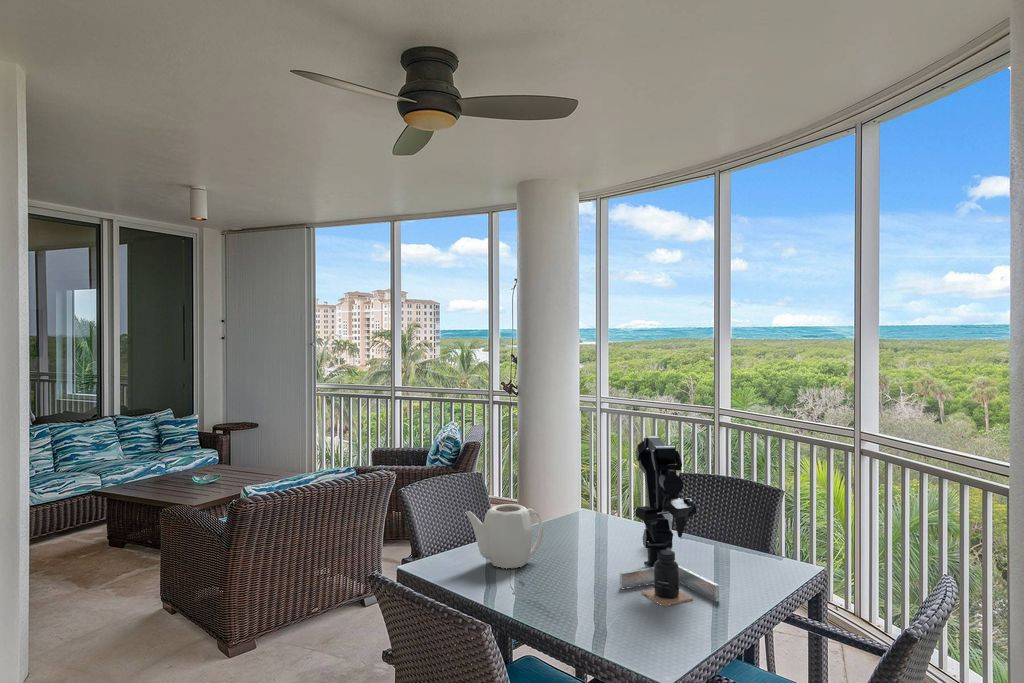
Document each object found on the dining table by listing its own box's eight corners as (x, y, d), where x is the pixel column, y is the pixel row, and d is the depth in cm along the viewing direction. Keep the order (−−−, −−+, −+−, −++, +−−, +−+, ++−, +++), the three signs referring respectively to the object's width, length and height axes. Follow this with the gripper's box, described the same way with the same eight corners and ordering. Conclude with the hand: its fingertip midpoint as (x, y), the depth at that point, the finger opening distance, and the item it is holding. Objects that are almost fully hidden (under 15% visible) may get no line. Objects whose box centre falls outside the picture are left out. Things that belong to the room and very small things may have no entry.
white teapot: (461, 561, 207) (460, 505, 207) (536, 553, 213) (535, 499, 214) (470, 577, 192) (469, 517, 192) (550, 567, 198) (549, 509, 199)
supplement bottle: (659, 600, 169) (657, 556, 169) (651, 590, 176) (650, 549, 176) (683, 598, 170) (681, 555, 170) (674, 589, 176) (673, 547, 177)
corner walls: (619, 588, 180) (619, 572, 180) (675, 577, 187) (674, 563, 187) (659, 613, 161) (659, 596, 162) (719, 601, 169) (718, 584, 169)
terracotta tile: (642, 593, 175) (642, 591, 175) (670, 588, 179) (670, 586, 179) (662, 606, 166) (662, 604, 166) (692, 600, 170) (692, 598, 170)
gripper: (655, 495, 173) (656, 551, 173) (708, 489, 180) (709, 542, 180) (633, 488, 184) (635, 540, 183) (684, 482, 191) (686, 532, 190)
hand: (667, 539), depth 184 cm, fingers open, 9 cm apart
